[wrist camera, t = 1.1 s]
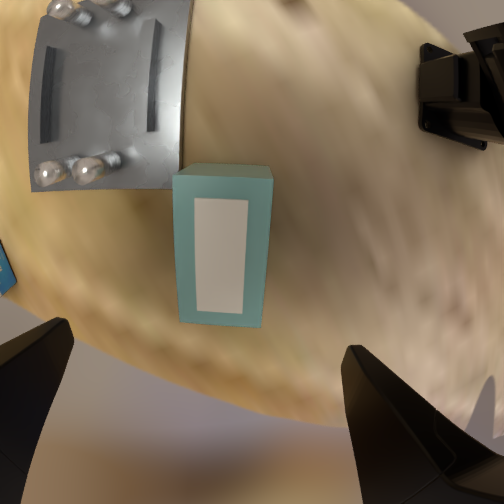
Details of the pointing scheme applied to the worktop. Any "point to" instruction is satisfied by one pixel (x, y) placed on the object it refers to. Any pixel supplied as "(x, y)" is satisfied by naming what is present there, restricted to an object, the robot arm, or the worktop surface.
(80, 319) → the worktop surface
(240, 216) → the block
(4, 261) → the ink box
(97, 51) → the metal plate device
